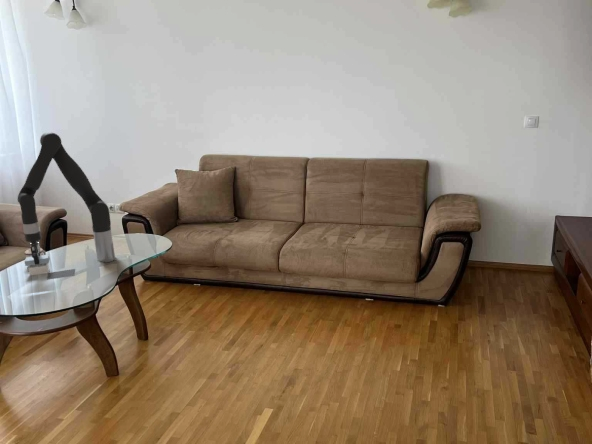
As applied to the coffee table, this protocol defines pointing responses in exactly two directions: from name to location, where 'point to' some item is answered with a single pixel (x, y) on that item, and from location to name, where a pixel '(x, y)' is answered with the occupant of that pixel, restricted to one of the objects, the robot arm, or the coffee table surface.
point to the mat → (61, 274)
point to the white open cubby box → (39, 269)
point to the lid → (42, 260)
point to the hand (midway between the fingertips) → (37, 261)
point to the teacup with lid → (29, 254)
